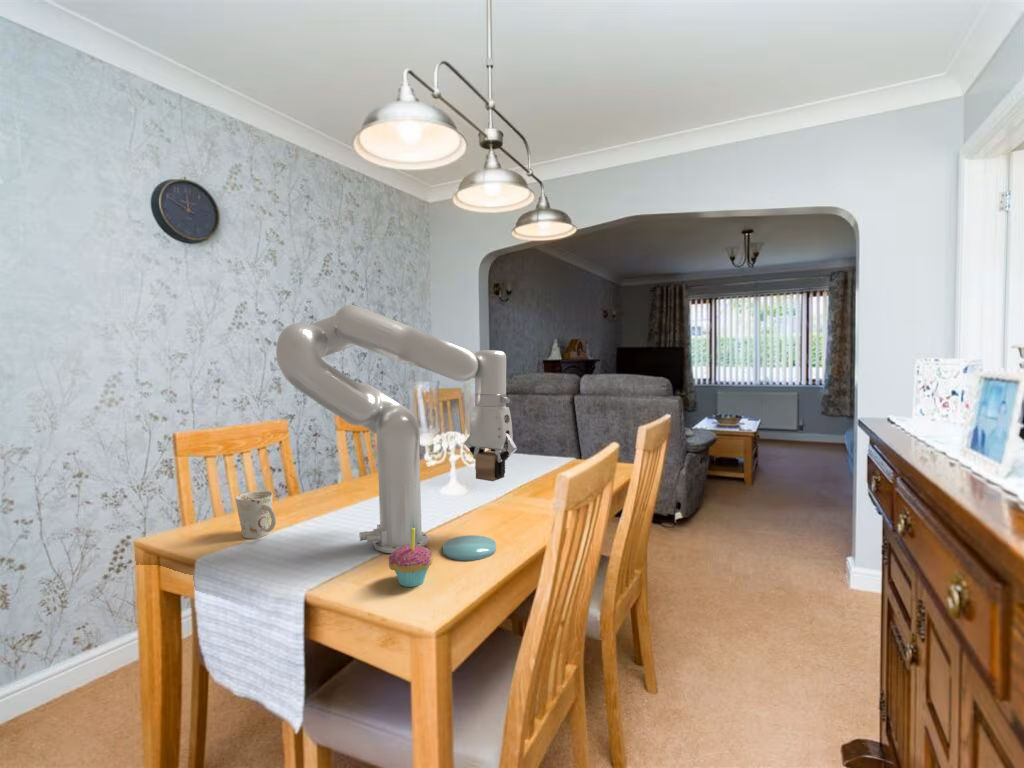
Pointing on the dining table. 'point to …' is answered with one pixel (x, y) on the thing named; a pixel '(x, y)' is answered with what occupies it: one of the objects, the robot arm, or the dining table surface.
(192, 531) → the dining table surface
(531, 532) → the dining table surface
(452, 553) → the teal dish
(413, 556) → the cupcake
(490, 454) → the walnut block
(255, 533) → the mug
